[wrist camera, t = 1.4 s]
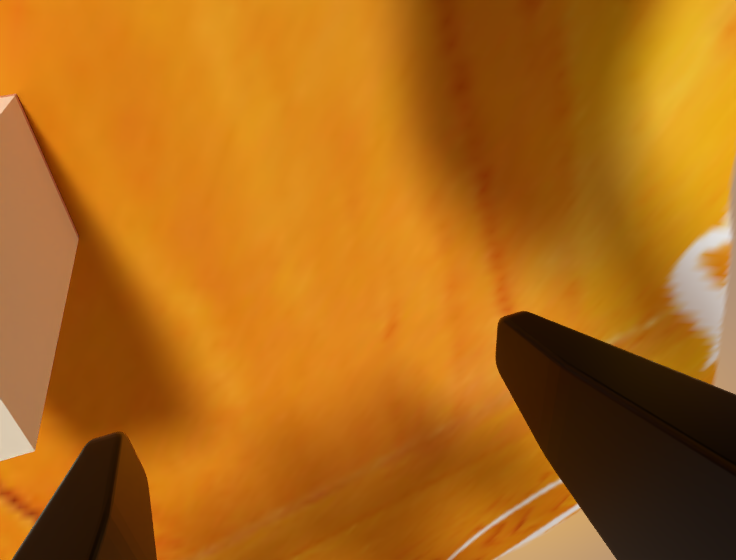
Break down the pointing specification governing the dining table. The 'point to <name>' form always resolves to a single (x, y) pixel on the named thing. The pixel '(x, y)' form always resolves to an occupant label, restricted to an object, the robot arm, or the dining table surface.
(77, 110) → the dining table surface
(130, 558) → the robot arm
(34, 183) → the cream block
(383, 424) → the dining table surface
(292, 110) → the dining table surface
